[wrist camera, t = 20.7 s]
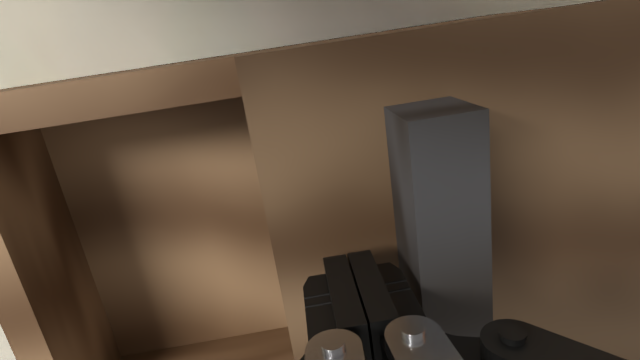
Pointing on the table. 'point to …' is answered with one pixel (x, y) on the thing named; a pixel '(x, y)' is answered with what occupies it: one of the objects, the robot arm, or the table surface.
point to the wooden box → (138, 218)
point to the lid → (463, 167)
